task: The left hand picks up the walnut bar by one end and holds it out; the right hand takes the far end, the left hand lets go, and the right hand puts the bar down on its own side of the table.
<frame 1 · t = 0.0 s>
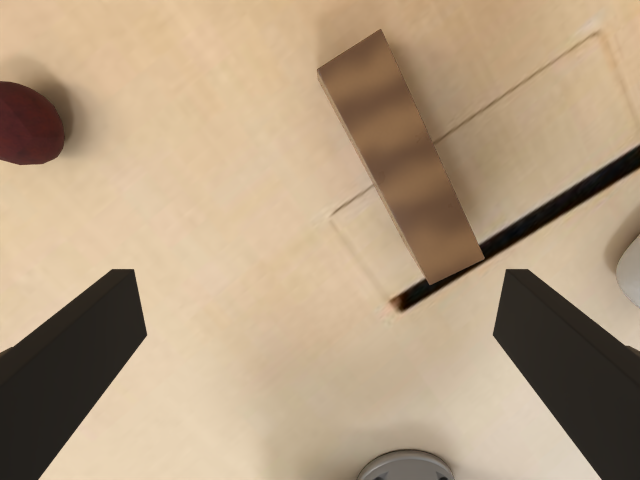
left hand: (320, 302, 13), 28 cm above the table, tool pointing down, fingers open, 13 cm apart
bar: (389, 158, 39), on the table
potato: (45, 124, 37), on the table
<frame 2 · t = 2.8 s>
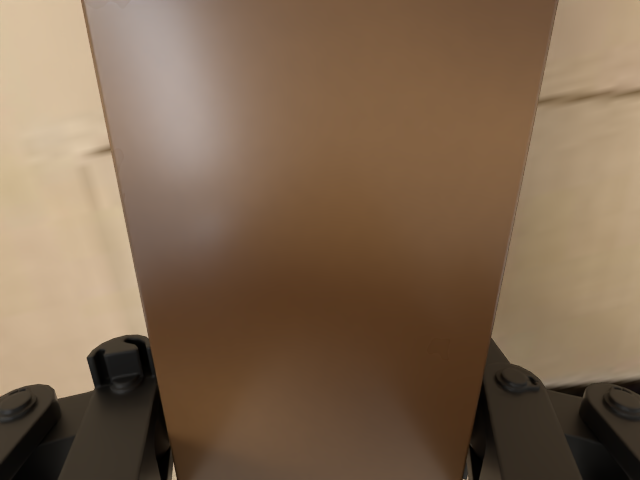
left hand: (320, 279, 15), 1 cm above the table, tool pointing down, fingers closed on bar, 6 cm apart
bar: (319, 82, 13), on the table, touching left hand
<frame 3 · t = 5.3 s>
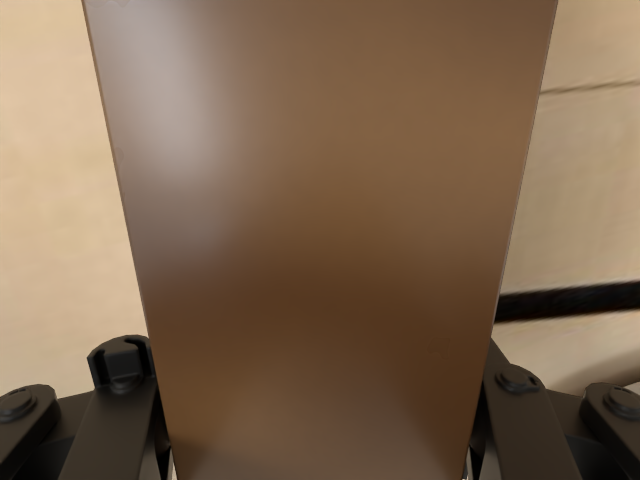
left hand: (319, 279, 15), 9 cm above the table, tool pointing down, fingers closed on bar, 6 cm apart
bar: (319, 82, 13), point 9 cm above the table, touching left hand
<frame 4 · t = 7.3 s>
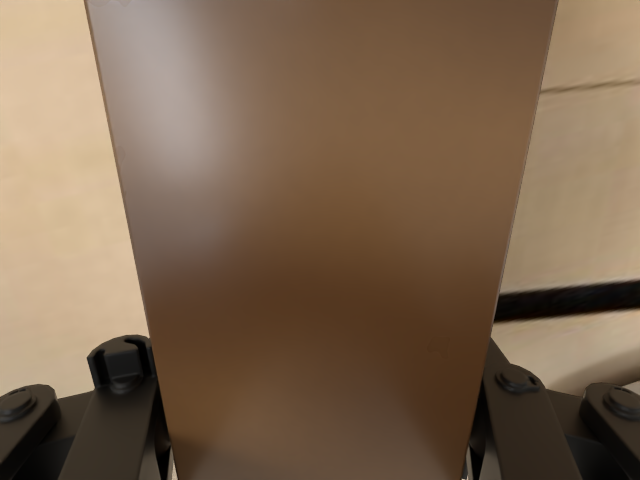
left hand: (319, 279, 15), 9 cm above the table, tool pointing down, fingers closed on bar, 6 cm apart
bar: (320, 82, 13), point 9 cm above the table, touching left hand, right hand
when the left hand's fingers open (9 cm above the table, at t = 8.1 s): bar stays where it is, held by the right hand.
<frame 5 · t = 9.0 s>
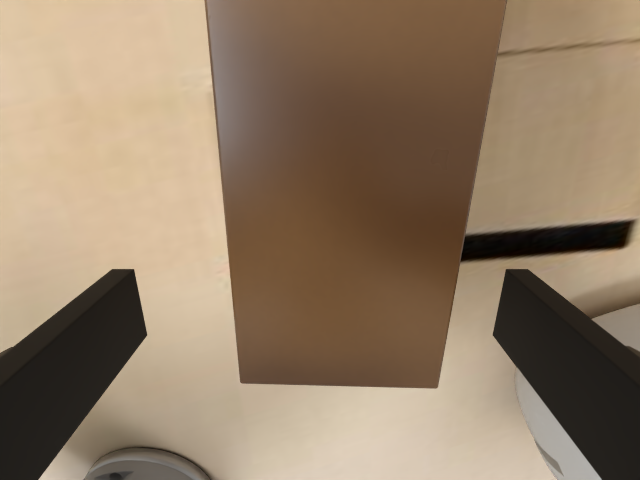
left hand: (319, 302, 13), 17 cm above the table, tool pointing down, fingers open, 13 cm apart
bar: (341, 6, 14), point 11 cm above the table, touching right hand
projector: (631, 352, 33), on the table
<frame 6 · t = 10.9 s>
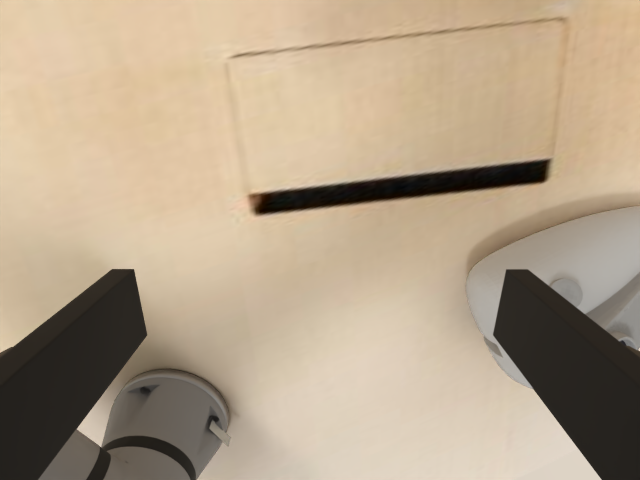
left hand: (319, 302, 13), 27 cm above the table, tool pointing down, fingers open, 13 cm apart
projector: (559, 270, 42), on the table
when the right hand's fingers open (4 cm above the table, at t = 15.1 s): bar drops 1 cm, on the table.
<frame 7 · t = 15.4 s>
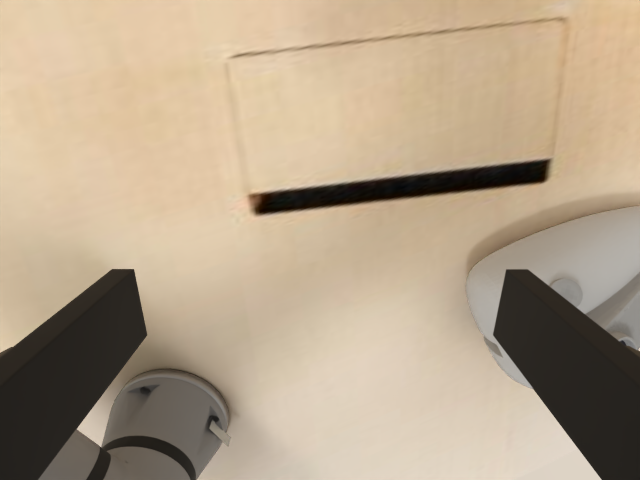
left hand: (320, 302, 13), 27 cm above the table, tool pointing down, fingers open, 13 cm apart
projector: (559, 270, 42), on the table
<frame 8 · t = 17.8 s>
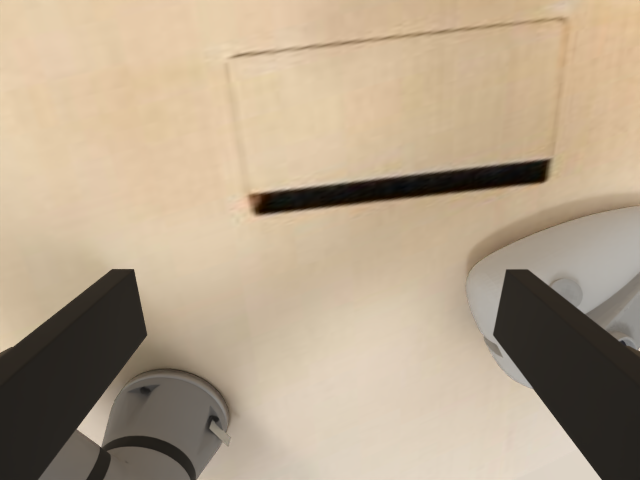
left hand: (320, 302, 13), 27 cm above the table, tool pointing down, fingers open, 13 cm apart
projector: (559, 270, 42), on the table
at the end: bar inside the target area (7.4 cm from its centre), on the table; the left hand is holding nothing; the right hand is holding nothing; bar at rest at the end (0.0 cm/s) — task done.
